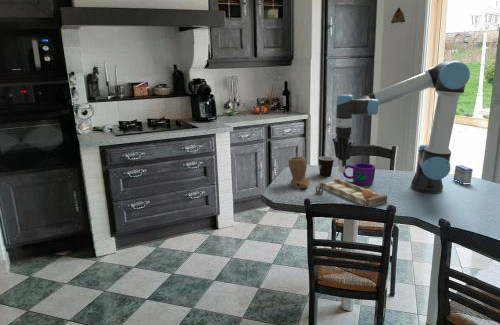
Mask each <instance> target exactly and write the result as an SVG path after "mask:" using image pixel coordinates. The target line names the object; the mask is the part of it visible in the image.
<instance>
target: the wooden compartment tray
mask: <svg viewBox="0 0 500 325" xmlns="http://www.w3.org/2000/svg"><path fill="white" fill-rule="evenodd" d="M318 184H319V185H318V187H319V186H320V188H322V187H323V190H327V191H329V192H331V193H334V194H335V195H339V196H341V197H343V198H346V199H347V200H351V201H353V202H355V203H357V204H359V205H362V206H364V205H366V206H373V207H376V206H379V205H383V204H386V203H387V202H388V195H387V194H385V193H383V194H380V193H376V192H374V191H372V192H373V196H372V197H371V198H368V199H365V198H364V197H363V196H362V192H363V190H365V189H366V188H364V187H362V186H360V185H357V184H355V183H350V182H348V181H345V180H342V179H340V178H337V177H334V180H333V181H330V182H324V181H323V180H322V181H319V182H318ZM366 206H365V207H366Z"/></svg>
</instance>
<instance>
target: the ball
mask: <svg viewBox="0 0 500 325" xmlns="http://www.w3.org/2000/svg"><path fill="white" fill-rule="evenodd" d="M364 189H365V190H363V192H362V196H363V197H364V198H365V199H368V198H371V197H372V196H373V192H374V191H373V190H372V189H370V188H364Z"/></svg>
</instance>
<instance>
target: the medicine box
mask: <svg viewBox="0 0 500 325" xmlns="http://www.w3.org/2000/svg"><path fill="white" fill-rule="evenodd" d="M454 167H455V169H454V174H453V179H454V180H457V181H459V182H461V183H470V184H471V182H472V176H473V171H474V170H473V169H472V168H470V167H468V166H465V165H461V164H459V165H457V164H456V165H455V166H454ZM454 180H453V181H454ZM461 183H460V184H461Z"/></svg>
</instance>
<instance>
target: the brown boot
mask: <svg viewBox="0 0 500 325" xmlns="http://www.w3.org/2000/svg"><path fill="white" fill-rule="evenodd" d="M288 167H289V170H290V174H291V177H292V179H291V181H290V183H289V185H290V186H291V187H293V188H295V189H299V190H300V189H306V188H308V187H309V185H310V182H311V179H310V177H309V178H308V177H306V172H307V168H308V166H307V159H306V157H304V156H294V157H290V158H288Z"/></svg>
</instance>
